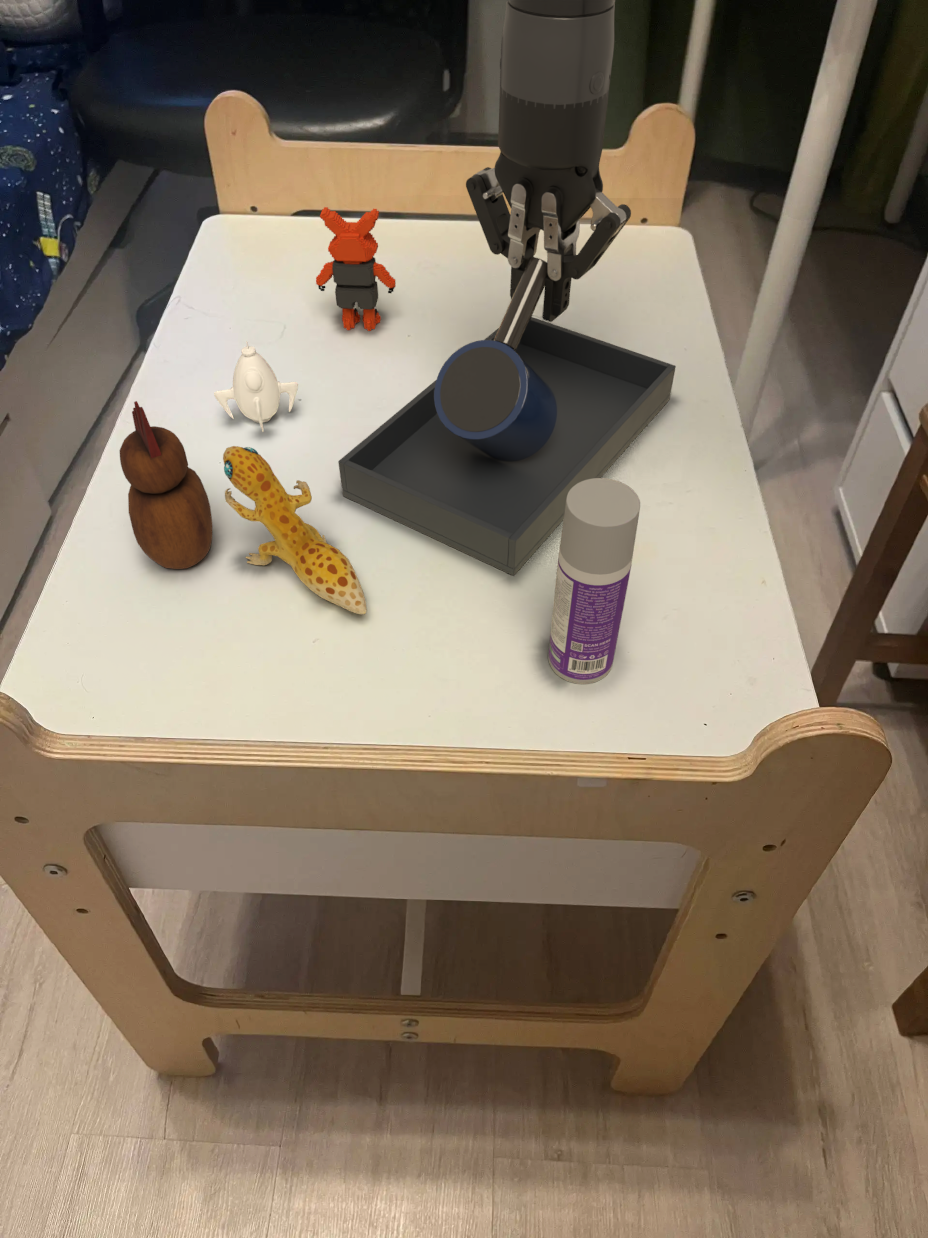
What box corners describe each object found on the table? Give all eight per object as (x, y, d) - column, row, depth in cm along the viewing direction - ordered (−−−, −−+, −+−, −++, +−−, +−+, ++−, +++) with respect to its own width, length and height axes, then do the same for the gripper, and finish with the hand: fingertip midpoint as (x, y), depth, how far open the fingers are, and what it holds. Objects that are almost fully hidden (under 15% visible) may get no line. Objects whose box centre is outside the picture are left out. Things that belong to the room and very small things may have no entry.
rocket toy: (264, 442, 83) (248, 366, 77) (220, 422, 85) (201, 347, 79) (303, 411, 86) (290, 336, 80) (259, 393, 88) (244, 318, 82)
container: (623, 650, 66) (655, 493, 55) (594, 694, 64) (621, 538, 53) (567, 625, 68) (586, 466, 57) (536, 666, 66) (550, 509, 54)
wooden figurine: (219, 577, 72) (173, 418, 60) (144, 585, 71) (83, 427, 60) (220, 519, 76) (177, 362, 65) (149, 527, 75) (94, 369, 64)
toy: (268, 473, 75) (257, 410, 66) (401, 600, 73) (409, 553, 64) (207, 524, 73) (187, 467, 64) (342, 655, 71) (341, 616, 62)
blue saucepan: (526, 284, 80) (493, 243, 72) (607, 310, 77) (582, 270, 69) (456, 443, 81) (418, 419, 74) (533, 475, 79) (501, 453, 71)
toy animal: (402, 306, 99) (395, 193, 90) (396, 333, 95) (388, 219, 86) (329, 303, 99) (315, 191, 90) (320, 330, 95) (305, 216, 86)
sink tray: (669, 400, 87) (676, 365, 84) (513, 576, 72) (515, 541, 69) (516, 345, 93) (517, 311, 91) (342, 496, 78) (337, 461, 75)
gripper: (671, 83, 62) (634, 317, 75) (498, 45, 67) (491, 270, 80) (620, 117, 58) (590, 358, 71) (440, 74, 63) (443, 307, 76)
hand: (538, 311), depth 75 cm, fingers closed on blue saucepan, 2 cm apart
